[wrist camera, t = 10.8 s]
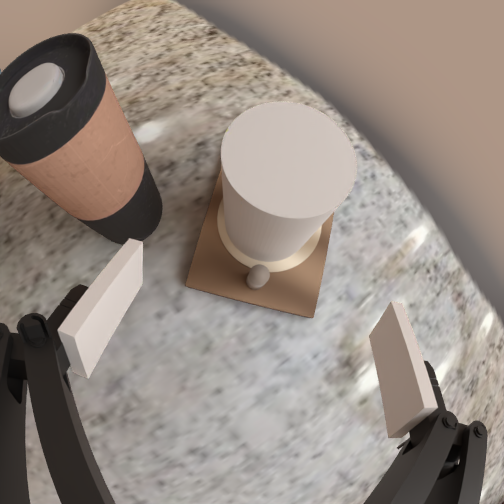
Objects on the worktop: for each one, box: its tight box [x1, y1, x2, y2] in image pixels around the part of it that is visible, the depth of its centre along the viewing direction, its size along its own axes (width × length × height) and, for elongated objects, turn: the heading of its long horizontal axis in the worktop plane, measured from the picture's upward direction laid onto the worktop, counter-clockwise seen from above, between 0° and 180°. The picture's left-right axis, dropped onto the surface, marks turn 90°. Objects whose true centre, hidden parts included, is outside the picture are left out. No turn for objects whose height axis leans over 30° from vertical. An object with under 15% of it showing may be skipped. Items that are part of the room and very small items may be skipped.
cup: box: [221, 101, 357, 262], centre depth 23 cm, size 8×8×12 cm
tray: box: [185, 167, 334, 318], centre depth 27 cm, size 16×12×5 cm
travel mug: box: [0, 33, 162, 244], centre depth 20 cm, size 8×8×20 cm
